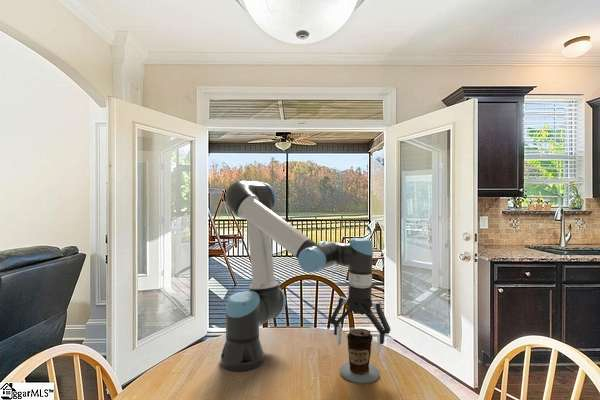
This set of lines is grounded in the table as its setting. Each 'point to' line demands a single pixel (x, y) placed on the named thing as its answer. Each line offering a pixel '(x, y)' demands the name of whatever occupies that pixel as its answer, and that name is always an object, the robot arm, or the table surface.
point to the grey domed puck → (359, 378)
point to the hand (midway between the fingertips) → (358, 348)
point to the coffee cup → (359, 350)
